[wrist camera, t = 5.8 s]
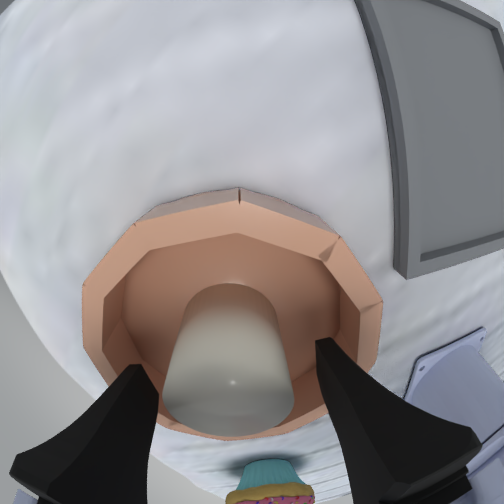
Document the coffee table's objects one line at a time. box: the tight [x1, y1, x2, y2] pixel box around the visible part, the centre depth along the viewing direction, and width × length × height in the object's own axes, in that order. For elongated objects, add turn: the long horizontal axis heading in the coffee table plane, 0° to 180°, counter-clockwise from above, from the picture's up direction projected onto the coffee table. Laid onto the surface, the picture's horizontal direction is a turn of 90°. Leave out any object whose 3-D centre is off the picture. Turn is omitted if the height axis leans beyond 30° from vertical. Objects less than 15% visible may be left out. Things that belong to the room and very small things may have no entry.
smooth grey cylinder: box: [162, 283, 294, 437], centre depth 11 cm, size 5×5×5 cm
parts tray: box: [355, 0, 504, 280], centre depth 10 cm, size 16×12×1 cm
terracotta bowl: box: [82, 188, 383, 441], centre depth 12 cm, size 13×13×4 cm
